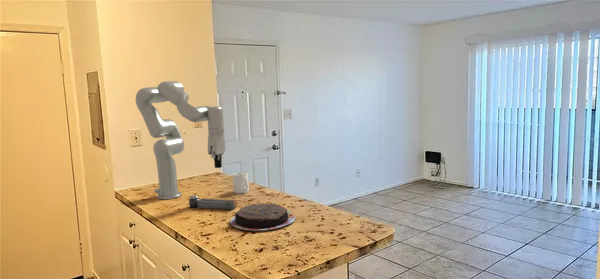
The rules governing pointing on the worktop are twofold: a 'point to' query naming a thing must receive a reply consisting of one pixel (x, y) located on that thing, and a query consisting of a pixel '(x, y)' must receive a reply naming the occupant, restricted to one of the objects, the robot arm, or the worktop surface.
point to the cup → (241, 182)
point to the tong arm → (213, 199)
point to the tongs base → (211, 204)
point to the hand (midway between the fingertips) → (218, 167)
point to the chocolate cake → (262, 218)
